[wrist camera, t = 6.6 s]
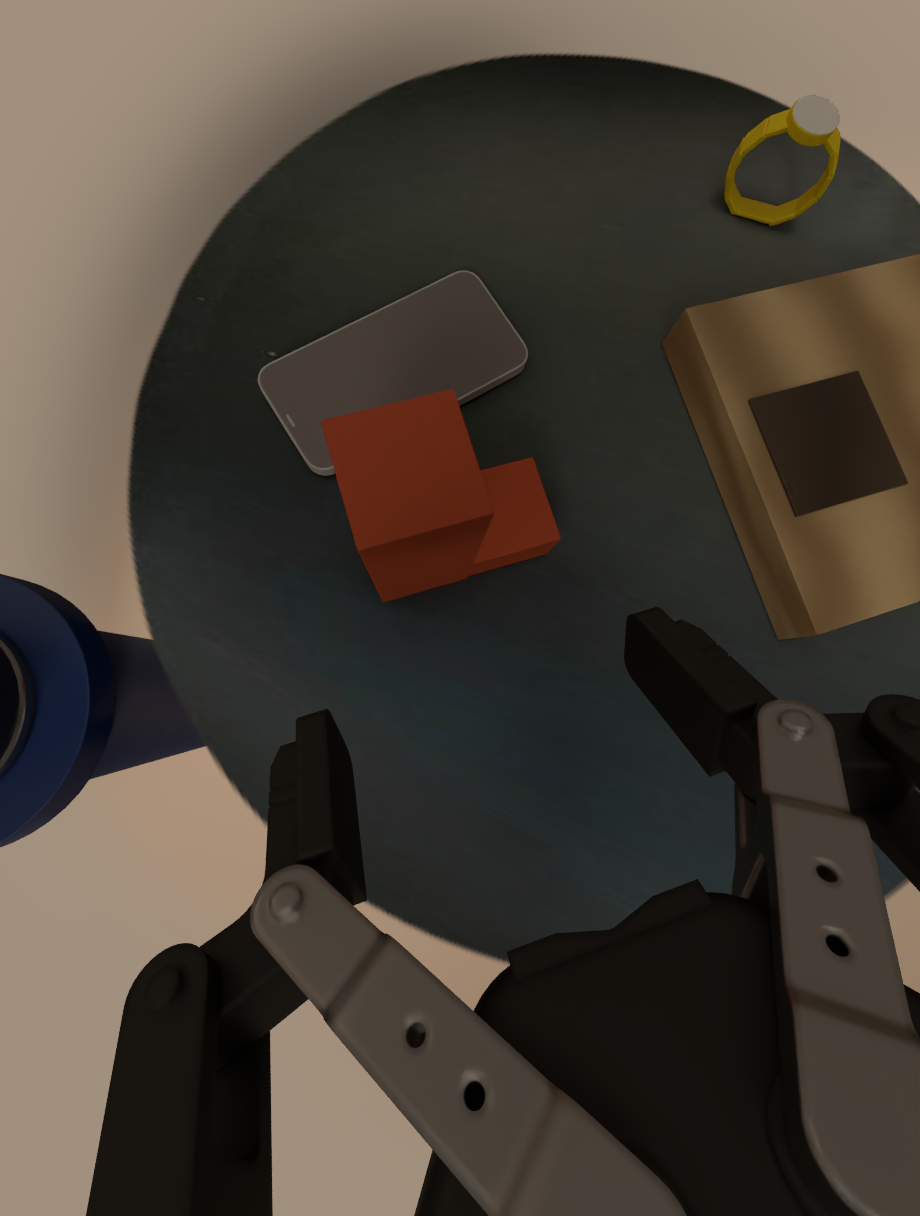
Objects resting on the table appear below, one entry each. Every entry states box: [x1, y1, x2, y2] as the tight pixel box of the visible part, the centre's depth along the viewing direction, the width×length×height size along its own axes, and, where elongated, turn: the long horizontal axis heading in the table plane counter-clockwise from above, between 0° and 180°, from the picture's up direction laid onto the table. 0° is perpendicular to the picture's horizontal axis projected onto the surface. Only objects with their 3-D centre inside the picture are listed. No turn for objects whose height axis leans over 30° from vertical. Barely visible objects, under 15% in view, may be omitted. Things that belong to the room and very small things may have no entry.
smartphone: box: [258, 271, 528, 476], centre depth 29 cm, size 7×1×15 cm
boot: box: [321, 389, 561, 602], centre depth 23 cm, size 10×5×11 cm, turn 107°
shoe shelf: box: [662, 254, 920, 640], centre depth 28 cm, size 18×20×7 cm
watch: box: [724, 95, 841, 226], centre depth 31 cm, size 6×3×6 cm, turn 72°
